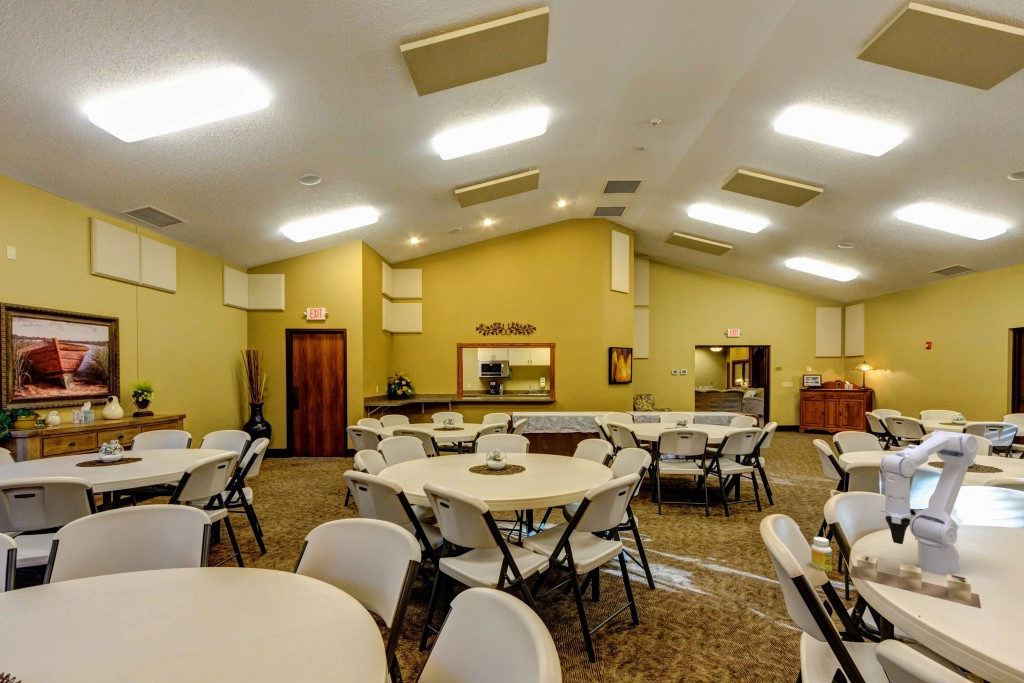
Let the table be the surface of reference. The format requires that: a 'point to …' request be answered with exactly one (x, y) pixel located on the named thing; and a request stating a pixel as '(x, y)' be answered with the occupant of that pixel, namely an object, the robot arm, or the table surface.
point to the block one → (867, 566)
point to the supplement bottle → (821, 554)
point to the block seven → (959, 588)
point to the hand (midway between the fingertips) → (898, 542)
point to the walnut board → (925, 590)
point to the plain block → (910, 577)
